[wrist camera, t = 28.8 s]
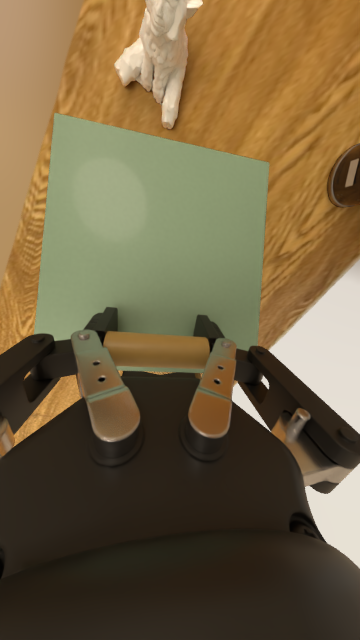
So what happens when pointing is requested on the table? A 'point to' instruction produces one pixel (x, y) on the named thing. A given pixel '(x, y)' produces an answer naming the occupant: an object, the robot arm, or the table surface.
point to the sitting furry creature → (160, 54)
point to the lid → (150, 243)
